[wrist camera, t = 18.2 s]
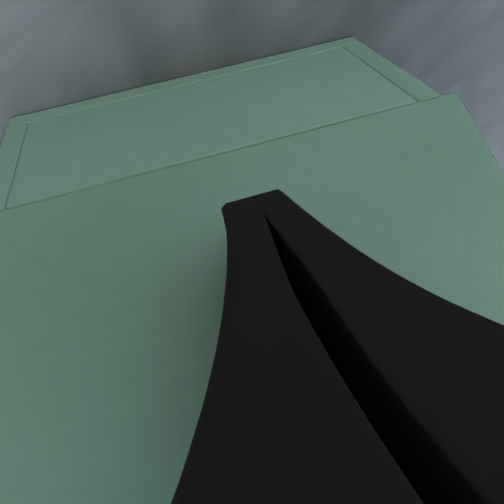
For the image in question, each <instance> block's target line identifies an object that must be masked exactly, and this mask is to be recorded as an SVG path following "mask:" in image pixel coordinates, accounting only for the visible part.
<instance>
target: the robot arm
mask: <svg viewBox="0 0 504 504" xmlns="http://www.w3.org/2000/svg"><path fill="white" fill-rule="evenodd" d="M221 210H222V215H223V219H224V223H225V228H226V234H227V272H226V284H225V294H224V303H223V312H222V319H221V325H220V331H219V337H218V342H217V347H216V352H215V357H214V361H213V366H212V370H211V374H210V378H209V383H208V387H207V391H206V395H205V398H204V402H203V406H202V409H201V413H200V416H199V420H198V423H197V426H196V429H195V432H194V436H193V439H192V442H191V445H190V449H189V452H188V455H187V458H186V462H185V465H184V468H183V471H182V474H181V477H180V480H179V483H178V486H177V488H176V491H175V494H174V496H173V499H172V502H171V504H504V325H502V324H499V323H497V322H495V321H493V320H490V319H488V318H486V317H483V316H481V315H479V314H477V313H474V312H472V311H470V310H468V309H465V308H463V307H461V306H458V305H456V304H454V303H452V302H450V301H448V300H445V299H443V298H441V297H439V296H437V295H435V294H433V293H431V292H429V291H427V290H425V289H424V288H422V287H420V286H418V285H416V284H414V283H412V282H411V281H409V280H407V279H405V278H403V277H402V276H400V275H398V274H396V273H395V272H393V271H391V270H390V269H388V268H386V267H385V266H383V265H381V264H380V263H378V262H377V261H375V260H373V259H372V258H370V257H369V256H367V255H366V254H364V253H362V252H361V251H359V250H358V249H357V248H355V247H354V246H352V245H351V244H349V243H348V242H346V241H345V240H344V239H342V238H341V237H339V236H338V235H337V234H335V233H334V232H332V231H331V230H330V229H328V228H327V227H326V226H324V225H323V224H322V223H320V222H319V221H318V220H316V219H315V218H314V217H313V216H311V215H310V214H309V213H308V212H306V211H305V210H304V209H303V208H301V207H300V206H299V205H298V204H297V203H295V202H294V201H293V200H292V199H291V198H289V197H288V196H287V195H286V194H285V193H284V192H282V191H280V190H279V189H276V190H272V191H269V192H265V193H261V194H258V195H254V196H250V197H247V198H243V199H239V200H236V201H232V202H228V203H225V204H224V206H223V207H222V208H221Z"/></svg>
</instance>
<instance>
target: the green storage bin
mask: <svg viewBox="0 0 504 504" xmlns="http://www.w3.org/2000/svg"><path fill="white" fill-rule="evenodd" d="M439 96H440V94H439V93H438V92H436V91H435V90H433V89H432V88H430V87H428V86H427V85H425V84H424V83H422V82H421V81H419V80H418V79H416V78H415V77H413V76H412V75H410V74H409V73H407V72H405V71H404V70H402V69H401V68H399V67H398V66H396V65H395V64H393V63H392V62H390V61H389V60H387V59H386V58H384V57H382V56H381V55H379V54H378V53H376V52H375V51H373V50H372V49H370V48H369V47H367V46H366V45H364V44H363V43H361V42H359V41H358V40H356V39H355V38H353V37H349V38H344V39H340V40H336V41H332V42H328V43H323V44H319V45H315V46H311V47H307V48H302V49H298V50H294V51H290V52H286V53H281V54H277V55H273V56H269V57H265V58H261V59H256V60H252V61H248V62H244V63H240V64H235V65H231V66H227V67H223V68H219V69H214V70H210V71H206V72H202V73H198V74H193V75H189V76H185V77H181V78H177V79H172V80H168V81H164V82H160V83H156V84H152V85H147V86H143V87H139V88H135V89H131V90H126V91H122V92H118V93H114V94H110V95H105V96H101V97H97V98H93V99H89V100H84V101H80V102H76V103H72V104H68V105H63V106H59V107H55V108H51V109H47V110H43V111H38V112H34V113H30V114H26V115H22V116H17V117H13V118H10V119H9V121H8V124H7V129H6V131H5V134H4V137H3V140H2V143H1V145H0V211H2V210H6V209H9V208H13V207H17V206H21V205H25V204H29V203H32V202H36V201H40V200H44V199H48V198H52V197H55V196H59V195H63V194H67V193H71V192H75V191H78V190H82V189H86V188H90V187H94V186H98V185H101V184H105V183H109V182H113V181H117V180H121V179H124V178H128V177H132V176H136V175H140V174H144V173H147V172H151V171H155V170H159V169H163V168H167V167H170V166H174V165H178V164H182V163H186V162H190V161H193V160H197V159H201V158H205V157H209V156H213V155H216V154H220V153H224V152H228V151H232V150H236V149H239V148H243V147H247V146H251V145H255V144H259V143H262V142H266V141H270V140H274V139H278V138H282V137H285V136H289V135H293V134H297V133H301V132H305V131H308V130H312V129H316V128H320V127H324V126H327V125H331V124H335V123H339V122H343V121H347V120H350V119H354V118H358V117H362V116H366V115H370V114H373V113H377V112H381V111H385V110H389V109H393V108H396V107H400V106H404V105H408V104H412V103H416V102H419V101H423V100H427V99H431V98H435V97H439Z"/></svg>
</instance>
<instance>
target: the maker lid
mask: <svg viewBox="0 0 504 504" xmlns="http://www.w3.org/2000/svg"><path fill="white" fill-rule="evenodd" d="M276 189H279V190H280V191H282V192H284V193H285V194H286V195H287V196H288V197H289V198H291V199H292V200H293V201H294V202H295V203H297V204H298V205H299V206H300V207H301V208H303V209H304V210H305V211H306V212H308V213H309V214H310V215H311V216H313V217H314V218H315V219H316V220H318V221H319V222H320V223H322V224H323V225H324V226H326V227H327V228H328V229H330V230H331V231H332V232H334V233H335V234H337V235H338V236H339V237H341V238H342V239H344V240H345V241H346V242H348V243H349V244H351V245H352V246H354V247H355V248H357V249H358V250H359V251H361V252H362V253H364V254H366V255H367V256H369V257H370V258H372V259H373V260H375V261H377V262H378V263H380V264H381V265H383V266H385V267H386V268H388V269H390V270H391V271H393V272H395V273H396V274H398V275H400V276H402V277H403V278H405V279H407V280H409V281H411V282H412V283H414V284H416V285H418V286H420V287H422V288H424V289H425V290H427V291H429V292H431V293H433V294H435V295H437V296H439V297H441V298H443V299H445V300H448V301H450V302H452V303H454V304H456V305H458V306H461V307H463V308H465V309H468V310H470V311H472V312H474V313H477V314H479V315H481V316H483V317H486V318H488V319H490V320H493V321H495V322H497V323H499V324H502V325H504V173H503V171H502V169H501V168H500V166H499V164H498V163H497V161H496V159H495V158H494V156H493V154H492V152H491V151H490V149H489V147H488V146H487V144H486V142H485V141H484V139H483V137H482V136H481V134H480V132H479V130H478V129H477V127H476V125H475V124H474V122H473V120H472V119H471V117H470V115H469V114H468V112H467V110H466V108H465V107H464V105H463V103H462V102H461V100H460V98H459V97H458V95H457V94H456V93H450V94H446V95H442V96H439V97H435V98H431V99H427V100H423V101H419V102H416V103H412V104H408V105H404V106H400V107H396V108H393V109H389V110H385V111H381V112H377V113H373V114H370V115H366V116H362V117H358V118H354V119H350V120H347V121H343V122H339V123H335V124H331V125H327V126H324V127H320V128H316V129H312V130H308V131H305V132H301V133H297V134H293V135H289V136H285V137H282V138H278V139H274V140H270V141H266V142H262V143H259V144H255V145H251V146H247V147H243V148H239V149H236V150H232V151H228V152H224V153H220V154H216V155H213V156H209V157H205V158H201V159H197V160H193V161H190V162H186V163H182V164H178V165H174V166H170V167H167V168H163V169H159V170H155V171H151V172H147V173H144V174H140V175H136V176H132V177H128V178H124V179H121V180H117V181H113V182H109V183H105V184H101V185H98V186H94V187H90V188H86V189H82V190H78V191H75V192H71V193H67V194H63V195H59V196H55V197H52V198H48V199H44V200H40V201H36V202H32V203H29V204H25V205H21V206H17V207H13V208H9V209H6V210H2V211H0V504H171V502H172V499H173V496H174V494H175V491H176V488H177V486H178V483H179V480H180V477H181V474H182V471H183V468H184V465H185V462H186V458H187V455H188V452H189V449H190V445H191V442H192V439H193V436H194V432H195V429H196V426H197V423H198V420H199V416H200V413H201V409H202V406H203V402H204V398H205V395H206V391H207V387H208V383H209V378H210V374H211V370H212V366H213V361H214V357H215V352H216V347H217V342H218V337H219V331H220V325H221V319H222V312H223V303H224V294H225V284H226V272H227V234H226V228H225V223H224V219H223V215H222V210H221V208H222V207H223V206H224V204H225V203H228V202H232V201H236V200H239V199H243V198H247V197H250V196H254V195H258V194H261V193H265V192H269V191H272V190H276Z"/></svg>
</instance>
